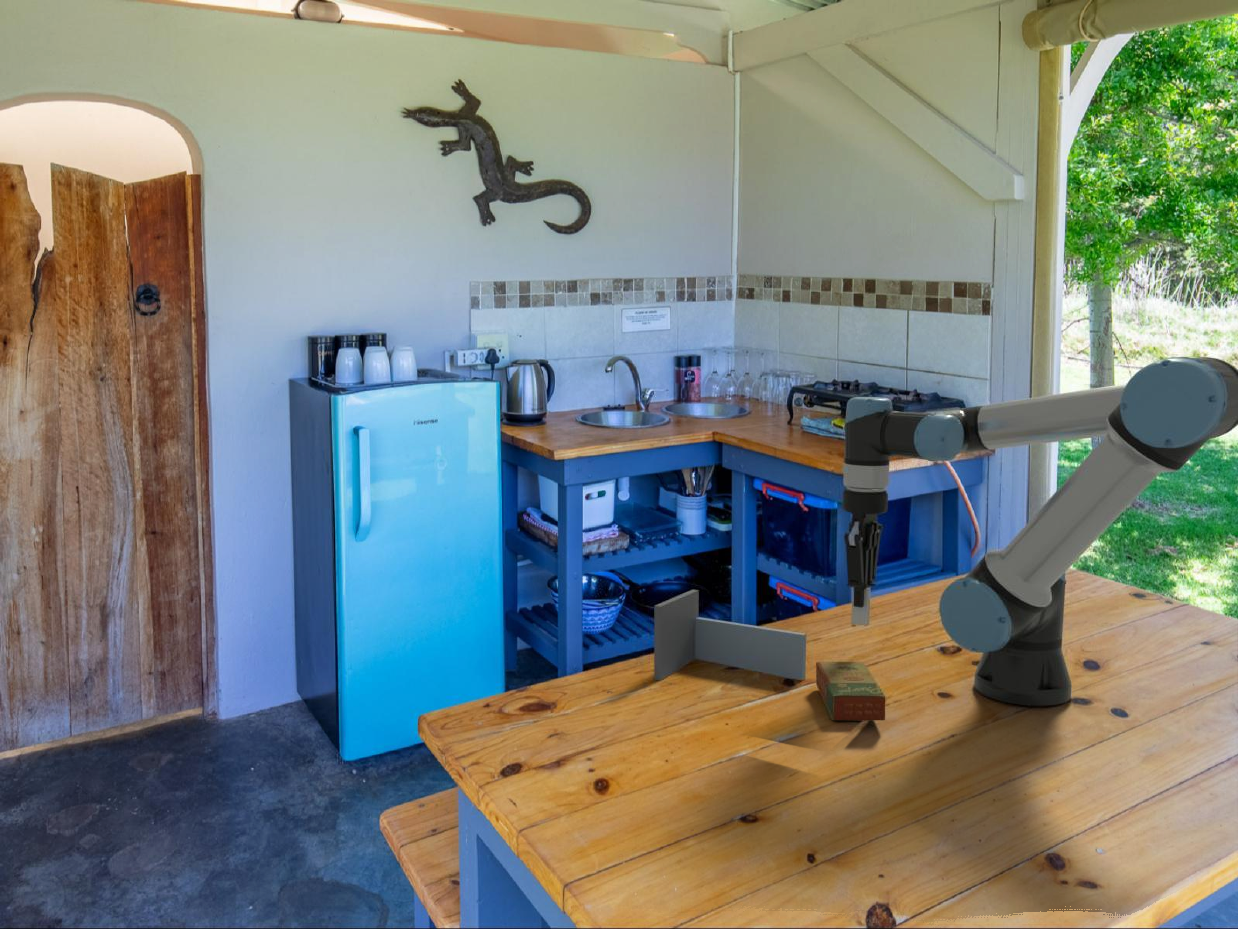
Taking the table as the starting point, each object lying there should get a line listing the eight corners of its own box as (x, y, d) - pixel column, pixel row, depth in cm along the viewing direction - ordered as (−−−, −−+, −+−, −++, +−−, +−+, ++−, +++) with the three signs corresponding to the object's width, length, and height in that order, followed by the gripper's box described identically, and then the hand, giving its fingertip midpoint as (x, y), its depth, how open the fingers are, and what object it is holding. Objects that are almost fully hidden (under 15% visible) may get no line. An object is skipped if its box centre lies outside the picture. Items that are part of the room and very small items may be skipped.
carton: (864, 685, 177) (865, 660, 176) (886, 721, 161) (887, 694, 160) (814, 685, 177) (815, 660, 176) (831, 721, 161) (832, 694, 160)
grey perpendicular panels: (805, 678, 182) (806, 605, 181) (772, 702, 170) (773, 623, 169) (692, 658, 194) (693, 589, 192) (654, 679, 182) (654, 605, 180)
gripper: (857, 482, 186) (852, 612, 189) (830, 491, 175) (825, 629, 178) (899, 485, 182) (893, 618, 185) (874, 495, 171) (869, 636, 174)
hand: (860, 623), depth 182 cm, fingers closed
